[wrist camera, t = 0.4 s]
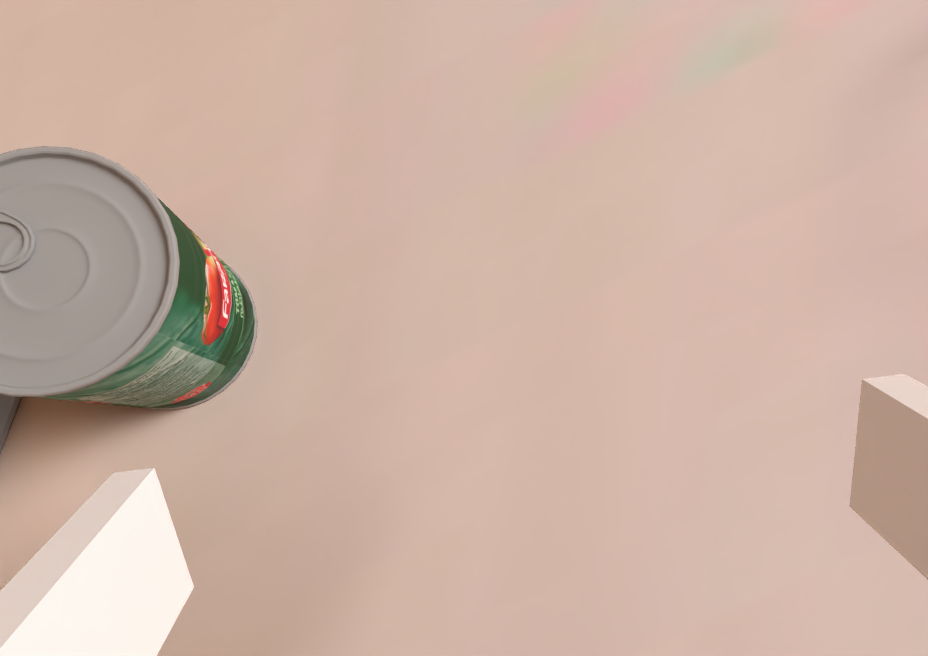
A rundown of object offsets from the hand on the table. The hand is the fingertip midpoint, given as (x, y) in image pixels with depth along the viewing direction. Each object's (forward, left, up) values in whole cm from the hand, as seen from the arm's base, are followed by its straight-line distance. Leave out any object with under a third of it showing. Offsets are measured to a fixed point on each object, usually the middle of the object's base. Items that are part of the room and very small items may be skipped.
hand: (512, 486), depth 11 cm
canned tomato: (+3, +14, -19) cm, 23 cm away
